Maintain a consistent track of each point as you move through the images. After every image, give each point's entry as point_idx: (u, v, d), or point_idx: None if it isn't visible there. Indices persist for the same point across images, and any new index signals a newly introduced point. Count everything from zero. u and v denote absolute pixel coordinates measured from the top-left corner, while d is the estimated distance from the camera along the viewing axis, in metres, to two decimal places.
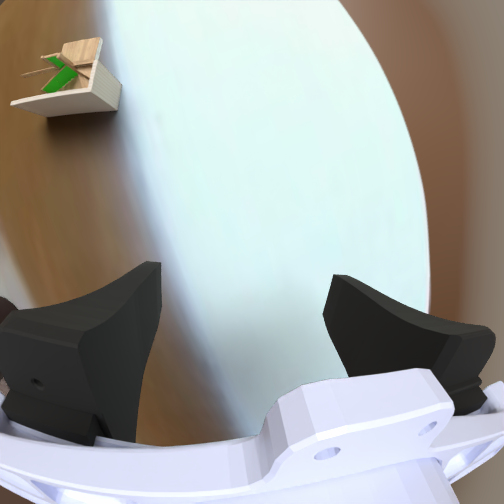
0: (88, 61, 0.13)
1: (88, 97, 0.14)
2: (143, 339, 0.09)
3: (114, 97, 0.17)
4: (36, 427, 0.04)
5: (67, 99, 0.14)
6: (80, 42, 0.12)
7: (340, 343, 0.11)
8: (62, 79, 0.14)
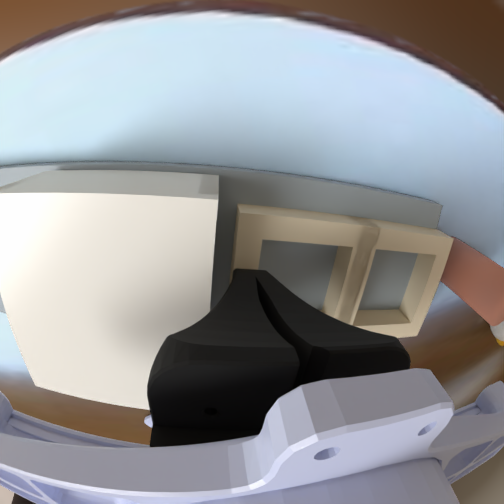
0: None
1: None
2: None
3: None
4: None
5: None
6: None
7: None
8: None
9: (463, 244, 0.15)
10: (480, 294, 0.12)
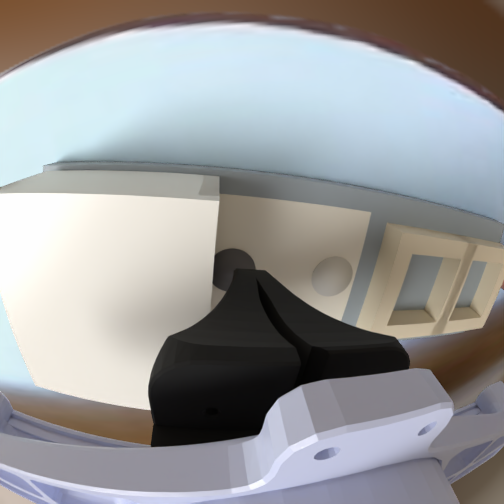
0: None
1: None
2: None
3: None
4: None
5: None
6: None
7: None
8: None
9: None
10: None
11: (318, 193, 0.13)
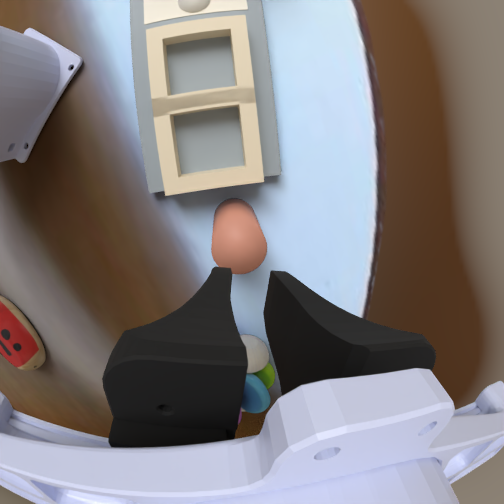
0: None
1: None
2: None
3: None
4: None
5: None
6: None
7: (274, 344, 0.10)
8: None
9: None
10: (233, 217, 0.16)
11: None
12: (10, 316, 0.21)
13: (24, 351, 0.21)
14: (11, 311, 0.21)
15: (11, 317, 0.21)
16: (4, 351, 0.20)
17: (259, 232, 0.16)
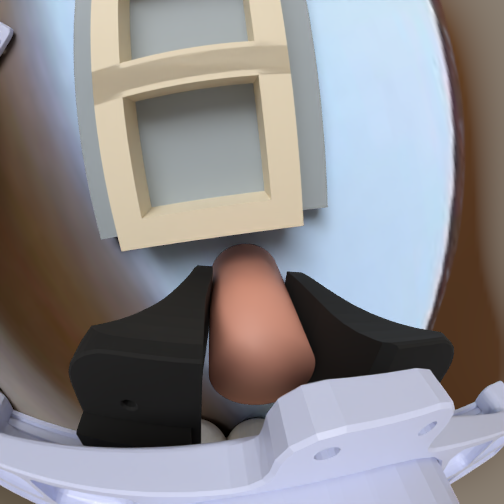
0: None
1: None
2: (204, 344, 0.09)
3: None
4: None
5: None
6: None
7: None
8: None
9: None
10: (251, 308, 0.08)
11: None
12: None
13: None
14: None
15: None
16: None
17: (304, 346, 0.07)
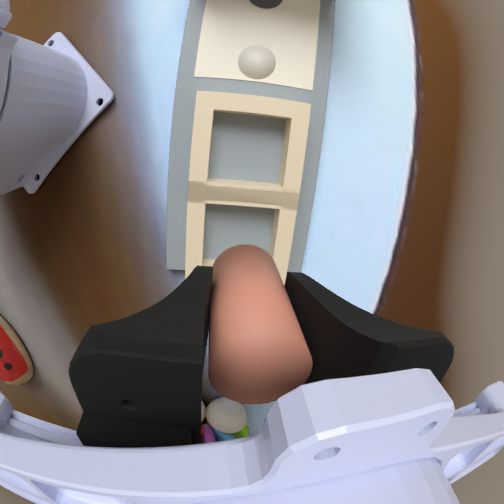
0: None
1: None
2: (204, 344, 0.09)
3: None
4: None
5: None
6: None
7: None
8: None
9: None
10: (250, 310, 0.08)
11: (324, 51, 0.14)
12: (4, 336, 0.19)
13: (14, 371, 0.20)
14: (5, 331, 0.20)
15: (5, 337, 0.19)
16: None
17: (301, 347, 0.08)
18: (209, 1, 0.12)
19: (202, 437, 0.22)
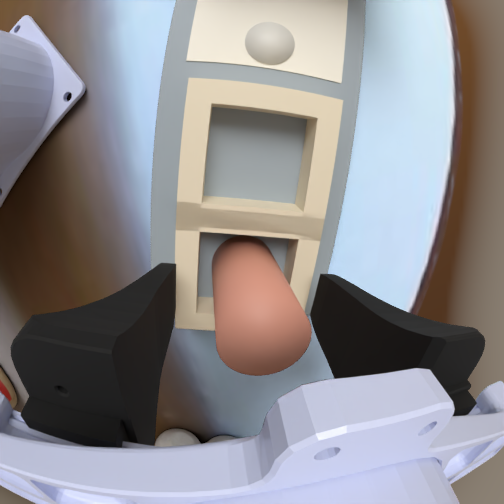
0: None
1: None
2: (161, 341, 0.09)
3: None
4: (58, 435, 0.04)
5: None
6: None
7: (326, 343, 0.11)
8: None
9: None
10: (252, 283, 0.09)
11: (355, 35, 0.10)
12: None
13: None
14: None
15: None
16: None
17: (301, 313, 0.09)
18: None
19: None
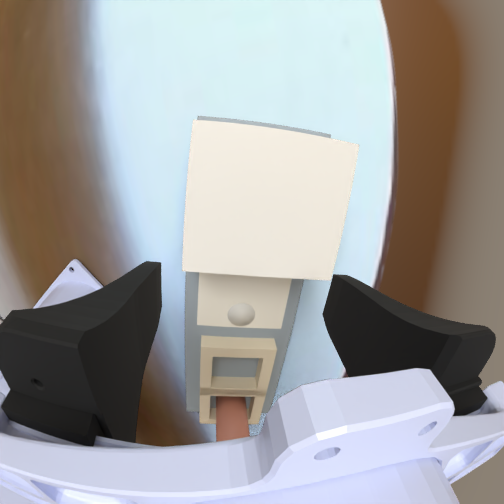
0: None
1: None
2: (143, 339, 0.09)
3: None
4: (36, 427, 0.04)
5: None
6: None
7: (340, 343, 0.11)
8: None
9: (245, 404, 0.26)
10: (229, 428, 0.22)
11: (293, 299, 0.23)
12: None
13: None
14: None
15: None
16: None
17: None
18: None
19: None
